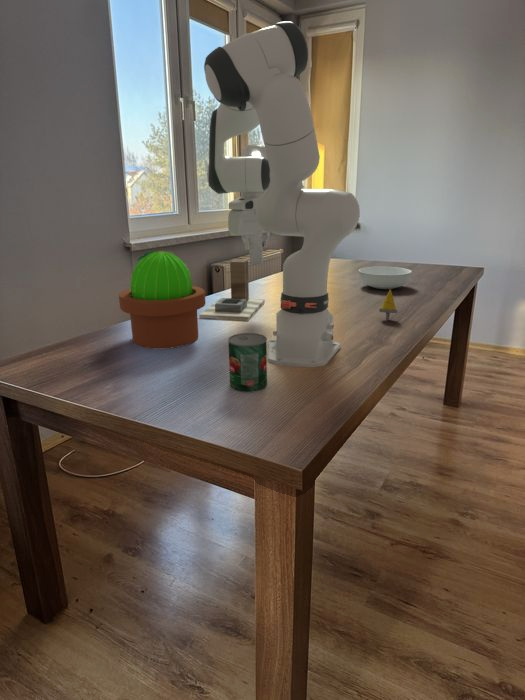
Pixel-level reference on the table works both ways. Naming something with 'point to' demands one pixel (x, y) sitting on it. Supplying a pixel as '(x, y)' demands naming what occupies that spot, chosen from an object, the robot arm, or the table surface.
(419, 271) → the table surface
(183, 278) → the potted cactus
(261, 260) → the gray rectangular block
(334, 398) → the table surface
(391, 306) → the yellow cone on disc
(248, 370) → the canned tomato
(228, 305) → the socket board with post
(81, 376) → the table surface
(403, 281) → the serving bowl
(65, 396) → the table surface
